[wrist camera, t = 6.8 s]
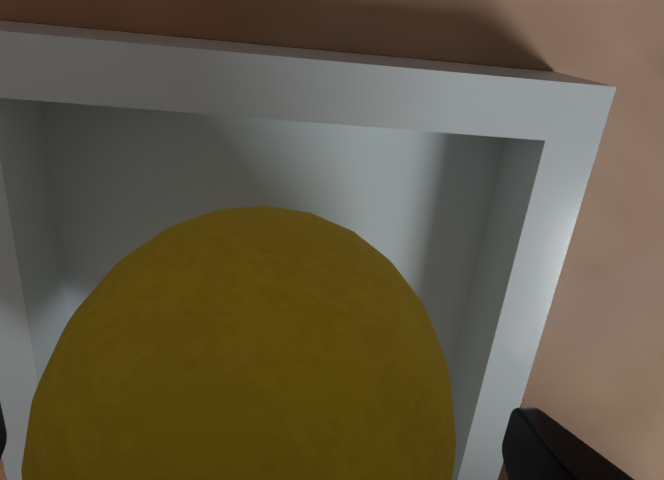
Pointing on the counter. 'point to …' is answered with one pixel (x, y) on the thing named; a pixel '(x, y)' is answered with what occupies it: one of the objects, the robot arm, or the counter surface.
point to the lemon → (246, 362)
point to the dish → (292, 186)
